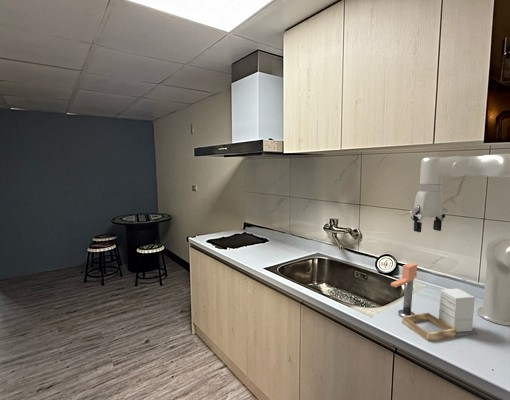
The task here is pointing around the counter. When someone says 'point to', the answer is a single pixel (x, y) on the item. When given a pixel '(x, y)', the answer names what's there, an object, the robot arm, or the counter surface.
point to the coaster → (465, 333)
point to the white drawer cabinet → (457, 309)
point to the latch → (406, 274)
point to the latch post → (407, 300)
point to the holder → (447, 329)
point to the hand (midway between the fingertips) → (427, 231)
